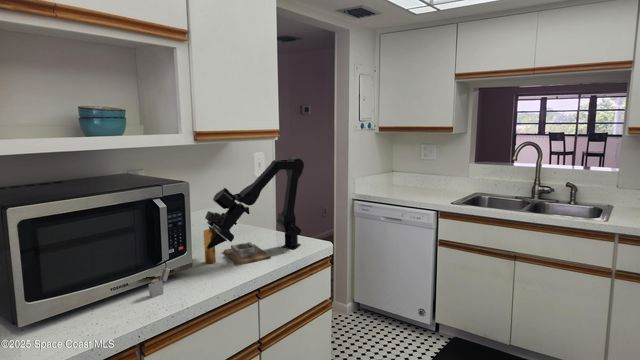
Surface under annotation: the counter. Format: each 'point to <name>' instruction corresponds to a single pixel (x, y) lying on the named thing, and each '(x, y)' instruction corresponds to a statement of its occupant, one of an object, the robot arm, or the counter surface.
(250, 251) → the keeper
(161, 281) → the lighter
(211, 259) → the post
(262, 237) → the counter surface
